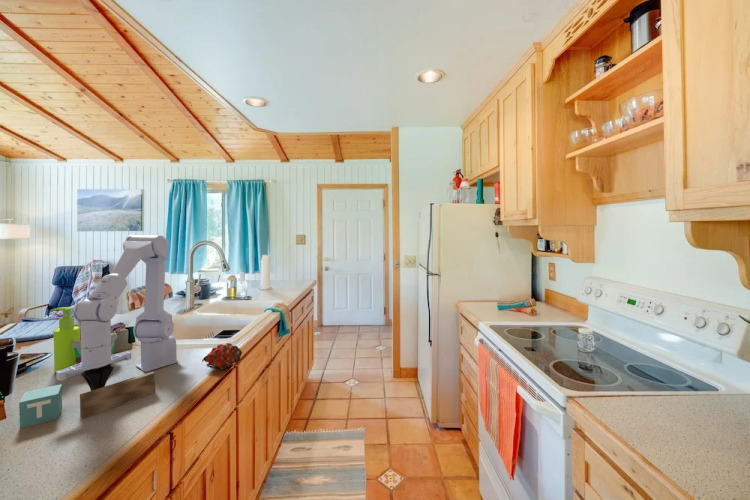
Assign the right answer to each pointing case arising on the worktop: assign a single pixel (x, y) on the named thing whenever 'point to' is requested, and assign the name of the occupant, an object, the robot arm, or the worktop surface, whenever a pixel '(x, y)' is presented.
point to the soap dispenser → (65, 340)
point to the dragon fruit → (223, 356)
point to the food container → (77, 347)
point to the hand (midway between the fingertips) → (97, 395)
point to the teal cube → (40, 405)
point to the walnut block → (116, 394)
